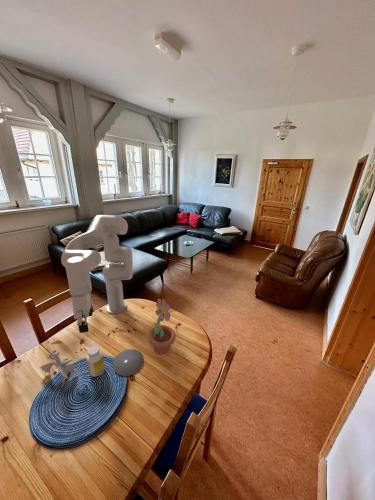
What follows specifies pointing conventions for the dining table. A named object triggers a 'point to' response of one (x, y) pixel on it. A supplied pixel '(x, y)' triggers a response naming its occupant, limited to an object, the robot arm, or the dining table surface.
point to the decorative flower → (161, 330)
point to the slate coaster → (128, 362)
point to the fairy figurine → (59, 365)
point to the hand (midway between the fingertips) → (86, 323)
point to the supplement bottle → (95, 361)
